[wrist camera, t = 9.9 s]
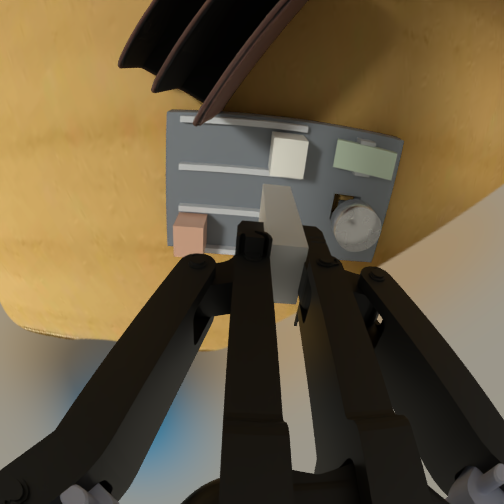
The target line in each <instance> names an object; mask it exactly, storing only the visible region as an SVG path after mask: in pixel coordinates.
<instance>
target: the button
mask: <svg viewBox="0 0 504 504" xmlns="http://www.w3.org/2000/svg"><path fill="white" fill-rule="evenodd" d="M331 228H332V231H333V233H334V235H335V237H336V240H337V242H338V244H339V245H340V246H341V247H342V248H343V249H345V250H347V251H351V252H359V251H363V250H366V249H368V248H370V247H371V246H372V245H373V244H374V243H375V242H376V241H377V240H378V238H379V236H380V233H381V221H380V219H379V217H378V216H377V214H376V213H375V212H374V210H373V209H372V208H371V206H370V205H369V204H368V203H366V202H365V201H362V200H359V199H351V200H347V201H345V200H339V202H338V206H337V207H336V209H335V210H334V212H333V214H332V216H331Z"/></svg>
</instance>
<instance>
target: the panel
mask: <svg viewBox="0 0 504 504" xmlns="http://www.w3.org/2000/svg"><path fill="white" fill-rule="evenodd" d="M198 111H199V110H173V109H172V110H170V111H168V112H167V129H166V212H167V241H168V246H174V245H173V225H174V223H175V220H176V218H177V216H178V214H179V212H185V213H200V214H207V243H206V247H205V251H204V253H216V254H228V255H235V248H236V236H237V226H238V224H239V223H240V222H241V221H242V220H244V221H255V222H259V213H260V205H261V197H262V188H263V184H272V185H282V186H290V187H291V191H292V194H293V197H294V200H295V203H296V207H297V210H298V213H299V217H300V220H301V223H302V225H306V226H316V227H317V228H318V229H319V230H321V231H322V233H323V235H324V239H325V240H326V244H327V245H328V248H329V251H330V253H331V256H334V257H336V258H337V259H338V260H349V261H361V262H371V261H372V258H373V255H374V252H375V249H376V246H377V242H378V240H377V241H376V242H375V243H374V244H373V245H372V246H371V247H370V248H368V249H366V250H363V251H359V252H351V251H347V250H345V249H343V248H342V247H341V246H340V245H339V244H338V242H337V240H336V237H335V235H334V233H333V231H332V228H331V216H332V214H333V212H331V209H332V205H333V200H334V195H335V194H342V195H349V196H354V199H359V200H362V201H365V202H366V203H368V204H369V205H370V206H371V208H372V209H373V210H374V212H375V213H376V214H377V216H378V217H379V219H380V221H381V229H382V226H383V222H384V219H385V216H386V212H387V208H388V205H389V201H390V197H391V194H392V190H393V186H394V182H395V178H396V174H397V170H398V166H399V161H400V157H401V153H402V148H403V144H404V141H403V140H401V139H399V138H398V137H395V136H390V135H386V134H381V133H377V132H372V131H367V130H362V129H357V128H352V127H347V126H341V125H336V124H330V123H324V122H317V121H311V120H304V119H296V118H289V117H280V116H271V115H262V114H251V113H239V112H225V111H221V112H220V113H218V114H217V115H216V116H215V117H214V118H212V119H211V120H208V121H207V122H205V123H204V124H202V125H201V126H197V127H196V126H194V125H193V120H194V118H195V116H196V114H197V113H198ZM272 131H276V132H284V133H293V134H300V135H304V136H305V138H306V139H307V140H308V141H309V144H308V150H307V157H306V163H305V170H304V176H303V179H298V178H289V177H279V176H270V174H269V168H268V162H269V154H270V145H271V137H272ZM378 239H379V238H378Z"/></svg>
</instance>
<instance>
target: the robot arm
mask: <svg viewBox="0 0 504 504" xmlns="http://www.w3.org/2000/svg"><path fill="white" fill-rule="evenodd" d="M298 295H299V300H300V302H299V306H298V310H297V314H296V318H295V322H294V326H297V322H298V321H299V326H300V332H301V340H302V346H303V353H304V360H305V367H306V375H307V381H308V389H309V397H310V404H311V412H312V420H313V428H314V437H315V445H316V454H317V462H316V467H315V472H314V474H312V473H305V472H300V471H295V470H292V464H291V449H290V436H289V428H288V425H287V423H286V422H284V421H283V415H282V403H281V387H280V374H279V361H278V348H277V336H276V323H275V311H274V303H285V304H296V302H297V298H298ZM225 314H230V325H229V339H228V353H227V368H226V383H225V399H224V415H223V431H222V450H221V468H220V478H218V479H216V480H213V481H211V482H209V483H207V484H205V485H203V486H201V487H200V488H199V489H197V490H196V491H194V492H193V493H192V494H191V495H190V496H189V497H187V498H186V499H185V500H184V501H183V502H182V503H181V504H504V420H503V418H502V417H501V415H500V414H499V412H498V411H497V410H496V408H495V407H494V405H493V404H492V402H491V401H490V399H489V398H488V397H487V395H486V394H485V392H484V391H483V389H482V388H481V387H480V385H479V384H478V383H477V381H476V380H475V378H474V377H473V376H472V375H471V373H470V372H469V370H468V369H467V368H466V367H465V366H464V364H463V362H462V361H461V360H460V358H459V357H458V356H457V355H456V353H455V352H454V351H453V349H452V348H451V347H450V346H449V344H448V343H447V342H446V341H445V339H444V338H443V337H442V336H441V334H440V333H439V332H438V331H437V329H436V328H435V327H434V326H433V325H432V323H431V322H430V321H429V320H428V319H427V317H426V316H425V315H424V314H423V313H422V311H421V310H420V309H419V308H418V306H417V305H416V304H415V303H414V302H413V301H412V300H411V299H410V297H409V296H408V295H407V294H406V293H405V291H404V290H403V289H402V288H401V287H400V286H399V285H398V283H397V282H396V281H395V280H394V279H393V278H392V277H391V276H390V275H389V274H388V273H387V272H386V271H384V270H382V269H381V268H377V267H365V268H363V269H362V270H361V273H360V275H359V274H355V273H352V272H349V271H346V270H344V268H343V265H342V263H341V262H340V260H338V259H337V258H336V257H334V256H331V253H330V251H329V248H328V245H327V244H326V240H325V239H324V235H323V233H322V231H321V230H319V229H318V228H317V227H316V226H306V225H302V223H301V220H300V217H299V213H298V210H297V207H296V203H295V200H294V197H293V194H292V191H291V187H290V186H282V185H272V184H263V188H262V197H261V205H260V213H259V222H255V221H244V220H242V221H241V222H240V223H239V224H238V226H237V236H236V248H235V255H234V256H233V258H231V259H230V260H228V261H225V262H221V263H216V262H215V260H214V259H213V258H212V257H211V256H208V255H206V254H200V253H194V254H189V255H186V256H184V257H183V258H182V259H181V260H180V261H179V262H178V263H177V265H176V266H175V267H174V268H173V270H172V271H171V272H170V273H169V275H168V276H167V277H166V279H165V280H164V281H163V282H162V284H161V285H160V286H159V287H158V289H157V290H156V291H155V293H154V294H153V295H152V296H151V298H150V299H149V300H148V302H147V303H146V304H145V306H144V307H143V308H142V309H141V311H140V312H139V313H138V315H137V316H136V317H135V319H134V320H133V321H132V323H131V324H130V325H129V327H128V328H127V329H126V331H125V332H124V333H123V335H122V336H121V337H120V339H119V340H118V341H117V343H116V344H115V345H114V347H113V348H112V350H111V351H110V352H109V354H108V355H107V356H106V358H105V359H104V361H103V362H102V363H101V365H100V366H99V367H98V369H97V370H96V372H95V373H94V374H93V376H92V377H91V379H90V380H89V381H88V383H87V384H86V386H85V387H84V389H83V390H82V392H81V393H80V394H79V396H78V397H77V399H76V400H75V402H74V403H73V404H72V406H71V407H70V409H69V410H68V412H67V413H66V415H65V416H64V418H63V419H62V421H61V422H60V424H59V425H58V427H57V428H56V430H55V431H54V432H52V433H51V434H49V435H48V436H47V437H45V438H44V439H43V440H41V441H40V442H38V443H37V444H36V445H34V446H33V447H32V448H30V449H29V450H27V451H26V452H25V453H24V454H22V455H21V456H19V457H18V458H16V459H15V460H14V461H12V462H11V463H10V464H8V465H7V466H5V467H4V468H3V469H2V470H0V504H119V502H118V501H119V500H120V499H121V497H122V496H123V495H124V493H125V492H126V491H127V490H128V488H129V487H130V485H131V483H132V482H133V480H134V478H135V476H136V475H137V473H138V471H139V469H140V467H141V465H142V463H143V460H144V459H145V457H146V455H147V453H148V451H149V449H150V446H151V445H152V443H153V440H154V438H155V436H156V434H157V432H158V430H159V428H160V426H161V424H162V422H163V420H164V418H165V416H166V414H167V412H168V410H169V408H170V406H171V404H172V402H173V400H174V398H175V396H176V394H177V392H178V390H179V388H180V386H181V384H182V382H183V380H184V378H185V376H186V374H187V372H188V370H189V368H190V366H191V364H192V362H193V360H194V358H195V356H196V354H197V352H198V350H199V348H200V346H201V344H202V342H203V340H204V338H205V336H206V334H207V332H208V330H209V328H210V326H211V324H212V322H213V319H214V316H218V315H225ZM379 314H380V316H381V317H382V319H383V320H382V323H381V324H380V323H379V322H378V320H377V317H378V315H379ZM393 409H394V411H395V413H394V411H393ZM420 457H421V458H420ZM421 459H422V461H423V463H424V465H425V467H426V468H427V470H428V472H429V473H430V475H431V476H432V478H433V480H434V481H435V482H436V483H437V485H438V486H439V487H440V489H441V490H442V491H443V492H444V493H445V494H446V495H447V496H448V497H447V498H446V499H444V498H443V497H441V496H440V495H439V494H438V493H436V492H435V491H434V490H433V489H432V488H430V487H429V486H428V485H427V481H426V477H425V473H424V469H423V465H422V462H421Z"/></svg>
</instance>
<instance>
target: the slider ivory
mask: <svg viewBox="0 0 504 504" xmlns="http://www.w3.org/2000/svg"><path fill="white" fill-rule="evenodd" d="M308 144H309V141H308V140H307V139H306V138H305V136H304V135H300V134H293V133H284V132H276V131H272V137H271V145H270V154H269V162H268V168H269V174H270V176H279V177H289V178H298V179H303V176H304V170H305V163H306V157H307V150H308Z"/></svg>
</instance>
